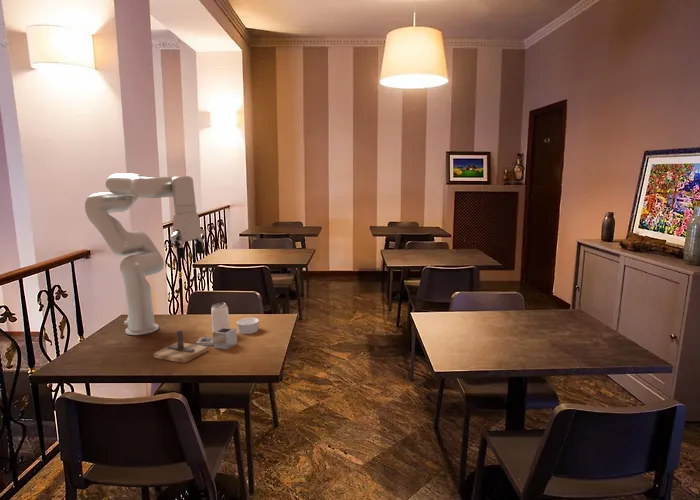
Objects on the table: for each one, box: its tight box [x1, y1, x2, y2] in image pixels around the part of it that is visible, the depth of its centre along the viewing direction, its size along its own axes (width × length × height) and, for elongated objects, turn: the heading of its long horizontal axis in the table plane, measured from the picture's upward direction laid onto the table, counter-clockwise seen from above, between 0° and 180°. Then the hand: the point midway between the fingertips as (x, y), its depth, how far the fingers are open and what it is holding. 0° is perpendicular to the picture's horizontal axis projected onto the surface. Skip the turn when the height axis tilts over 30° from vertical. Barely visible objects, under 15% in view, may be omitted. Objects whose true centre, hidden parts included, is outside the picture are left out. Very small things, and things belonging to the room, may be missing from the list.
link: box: [212, 327, 238, 351], centre depth 176 cm, size 6×6×6 cm
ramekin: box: [236, 317, 260, 335], centre depth 192 cm, size 9×9×4 cm
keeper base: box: [152, 329, 209, 364], centre depth 169 cm, size 14×12×8 cm
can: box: [210, 302, 230, 333], centre depth 189 cm, size 6×6×12 cm
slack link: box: [195, 336, 214, 347], centre depth 180 cm, size 6×6×1 cm
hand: (190, 255), depth 178 cm, fingers open, 9 cm apart
